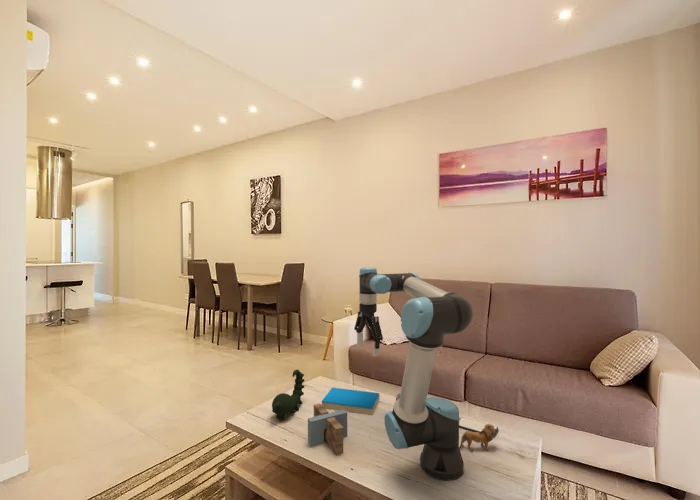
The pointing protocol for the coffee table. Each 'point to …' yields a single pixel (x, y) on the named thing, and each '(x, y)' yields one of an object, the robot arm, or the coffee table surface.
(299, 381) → the toy figurine
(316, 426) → the slate plate
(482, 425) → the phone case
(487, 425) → the lion figurine
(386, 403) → the coffee table surface
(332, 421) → the walnut board
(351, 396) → the book
